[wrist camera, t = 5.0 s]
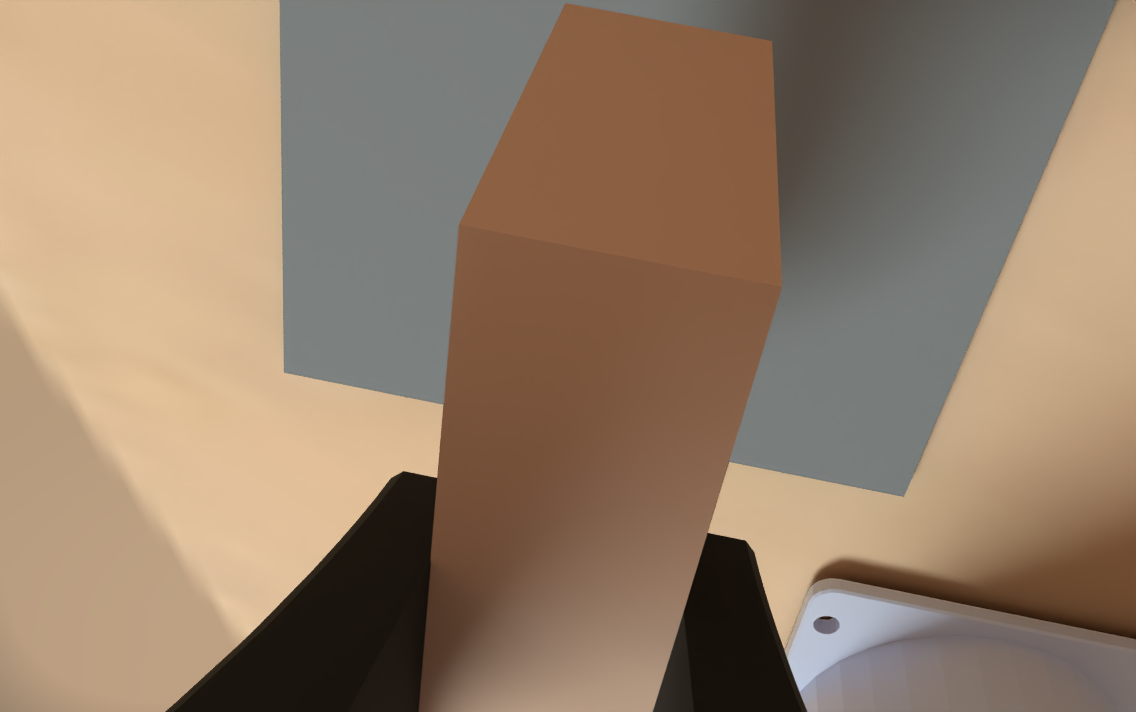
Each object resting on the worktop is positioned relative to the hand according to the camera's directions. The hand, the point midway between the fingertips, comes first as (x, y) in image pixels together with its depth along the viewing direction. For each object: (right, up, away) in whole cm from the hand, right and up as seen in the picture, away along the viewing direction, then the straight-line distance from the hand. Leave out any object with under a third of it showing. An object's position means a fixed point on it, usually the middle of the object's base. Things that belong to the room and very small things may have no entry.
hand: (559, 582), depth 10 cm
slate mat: (+1, +5, +8) cm, 9 cm away
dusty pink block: (0, +2, +3) cm, 3 cm away
